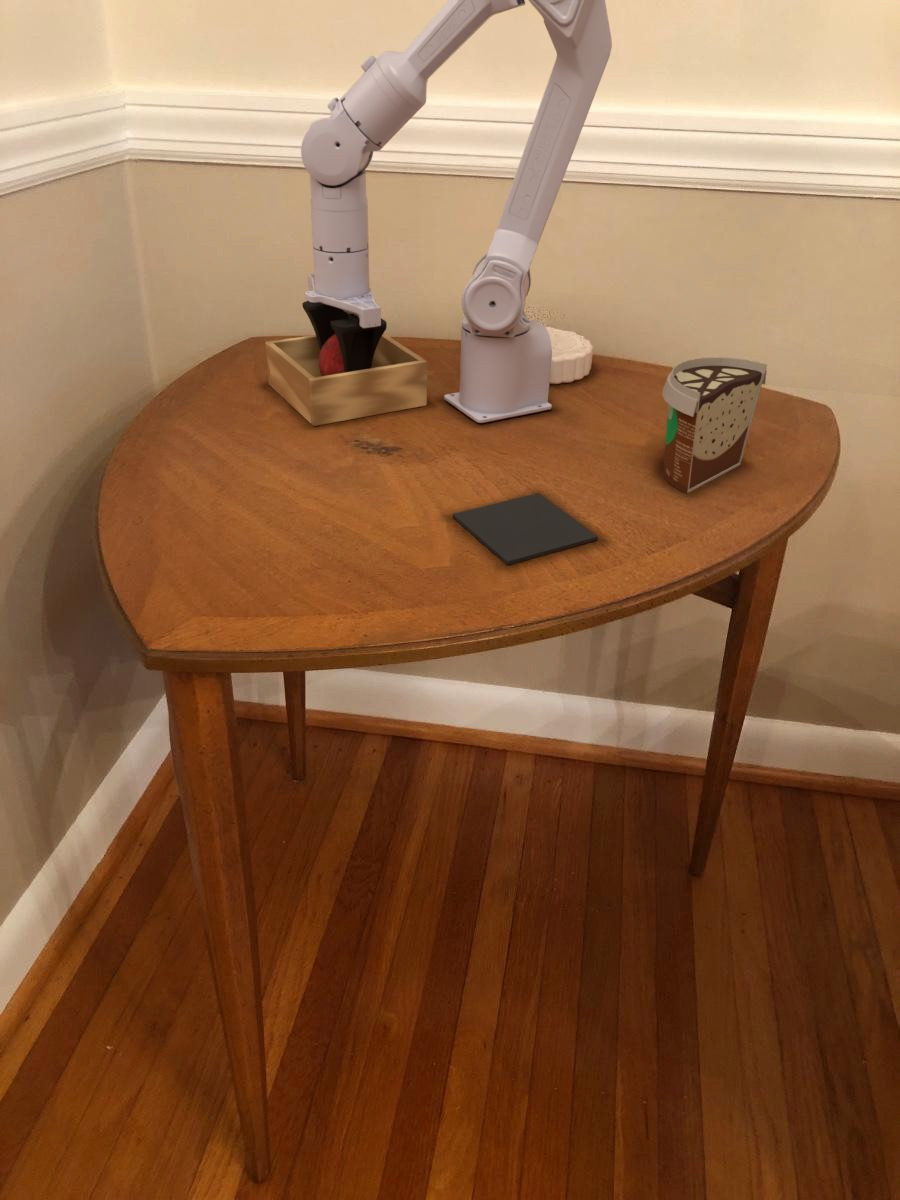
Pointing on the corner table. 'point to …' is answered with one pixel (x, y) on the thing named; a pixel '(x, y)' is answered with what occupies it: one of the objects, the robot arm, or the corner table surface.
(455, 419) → the corner table surface
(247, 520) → the corner table surface
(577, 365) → the mooncake
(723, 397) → the food container
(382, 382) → the wooden box
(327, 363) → the onion
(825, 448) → the corner table surface
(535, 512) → the mat
